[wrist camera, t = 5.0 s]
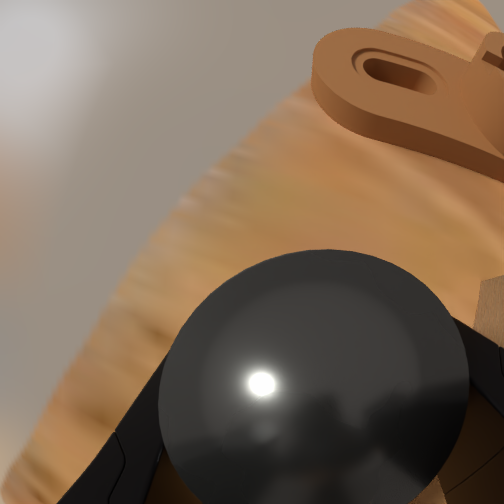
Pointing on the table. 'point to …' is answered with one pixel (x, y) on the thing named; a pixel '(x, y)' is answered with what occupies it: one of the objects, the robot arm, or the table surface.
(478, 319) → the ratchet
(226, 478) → the dark metal cylinder
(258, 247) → the table surface
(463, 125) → the bracket
